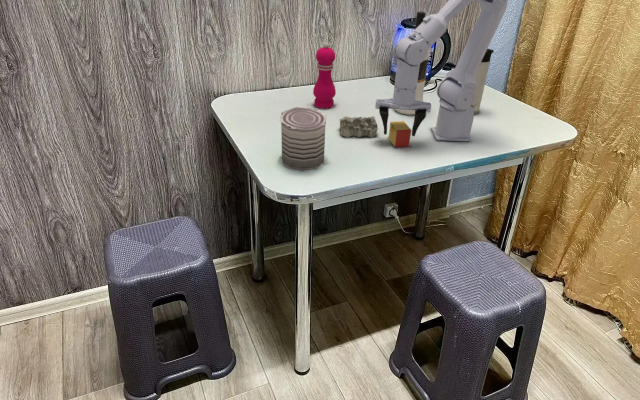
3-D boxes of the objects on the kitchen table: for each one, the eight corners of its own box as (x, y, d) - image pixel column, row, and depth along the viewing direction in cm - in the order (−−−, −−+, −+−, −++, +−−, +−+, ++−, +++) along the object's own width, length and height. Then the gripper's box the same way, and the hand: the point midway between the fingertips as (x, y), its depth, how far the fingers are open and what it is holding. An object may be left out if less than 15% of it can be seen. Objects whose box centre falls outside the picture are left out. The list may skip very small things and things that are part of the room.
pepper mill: (335, 109, 150) (338, 45, 139) (312, 108, 150) (313, 45, 139) (335, 101, 156) (337, 39, 145) (313, 100, 156) (314, 38, 145)
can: (324, 149, 126) (325, 107, 120) (326, 170, 117) (327, 126, 110) (281, 149, 126) (280, 107, 119) (279, 170, 116) (279, 125, 110)
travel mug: (475, 116, 149) (489, 52, 138) (455, 111, 152) (468, 48, 141) (482, 110, 153) (496, 48, 142) (463, 105, 156) (475, 44, 145)
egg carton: (340, 137, 133) (340, 124, 131) (338, 126, 139) (339, 113, 137) (377, 138, 133) (379, 124, 131) (374, 127, 140) (375, 114, 137)
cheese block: (401, 137, 134) (403, 121, 132) (408, 146, 130) (411, 129, 127) (388, 138, 134) (390, 121, 131) (395, 147, 129) (397, 130, 126)
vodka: (391, 114, 148) (404, 13, 132) (394, 103, 156) (406, 7, 140) (421, 117, 147) (437, 16, 131) (422, 106, 155) (438, 9, 138)
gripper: (377, 89, 120) (372, 138, 127) (435, 93, 119) (427, 142, 126) (377, 80, 126) (372, 127, 133) (432, 83, 125) (424, 131, 132)
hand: (399, 134), depth 130 cm, fingers open, 7 cm apart
